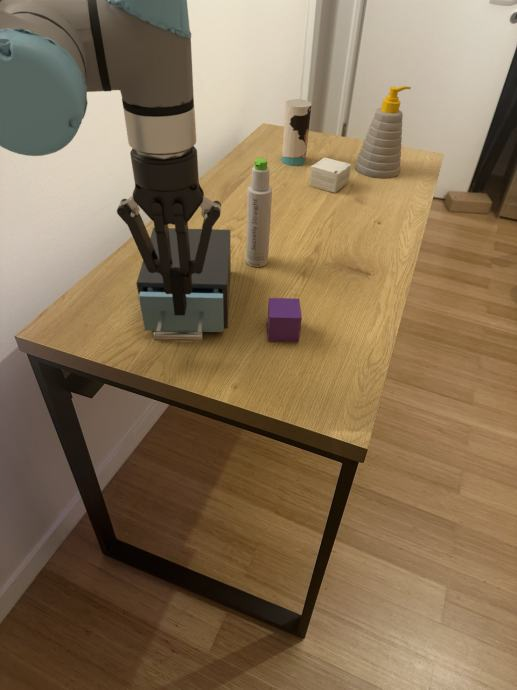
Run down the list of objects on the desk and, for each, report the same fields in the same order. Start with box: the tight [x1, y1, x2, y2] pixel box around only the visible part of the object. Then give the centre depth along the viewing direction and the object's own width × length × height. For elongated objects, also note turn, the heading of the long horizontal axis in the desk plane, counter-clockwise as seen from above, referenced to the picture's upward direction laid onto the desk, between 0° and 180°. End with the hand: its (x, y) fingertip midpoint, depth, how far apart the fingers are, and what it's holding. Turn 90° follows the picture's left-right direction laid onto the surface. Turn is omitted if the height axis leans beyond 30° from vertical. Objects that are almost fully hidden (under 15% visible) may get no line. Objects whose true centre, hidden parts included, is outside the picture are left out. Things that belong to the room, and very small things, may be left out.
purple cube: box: [266, 297, 303, 342], centre depth 75 cm, size 5×5×5 cm
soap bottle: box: [354, 85, 412, 179], centre depth 121 cm, size 12×12×20 cm
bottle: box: [245, 157, 273, 268], centre depth 85 cm, size 4×4×20 cm
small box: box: [308, 156, 352, 194], centre depth 118 cm, size 8×8×5 cm
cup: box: [281, 98, 313, 167], centre depth 125 cm, size 7×7×15 cm
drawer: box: [138, 287, 225, 343], centre depth 75 cm, size 22×13×7 cm, turn 1°
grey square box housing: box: [136, 227, 232, 329], centre depth 79 cm, size 17×14×9 cm
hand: (180, 309), depth 68 cm, fingers closed
